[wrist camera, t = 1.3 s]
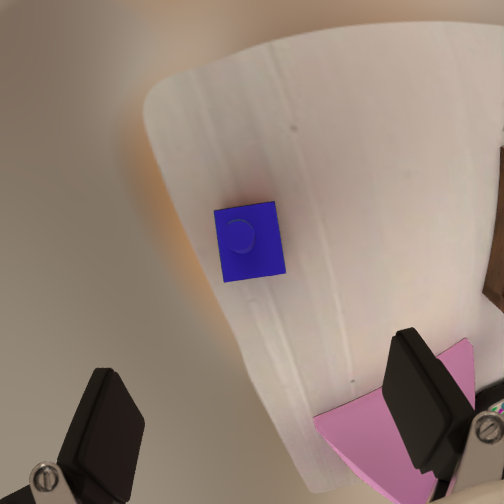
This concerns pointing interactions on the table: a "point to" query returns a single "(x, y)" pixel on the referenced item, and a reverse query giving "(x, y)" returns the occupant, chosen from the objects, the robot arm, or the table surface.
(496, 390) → the phone
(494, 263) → the doll bed
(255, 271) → the toy building block
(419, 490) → the pink table lamp
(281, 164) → the table surface
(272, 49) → the table surface
